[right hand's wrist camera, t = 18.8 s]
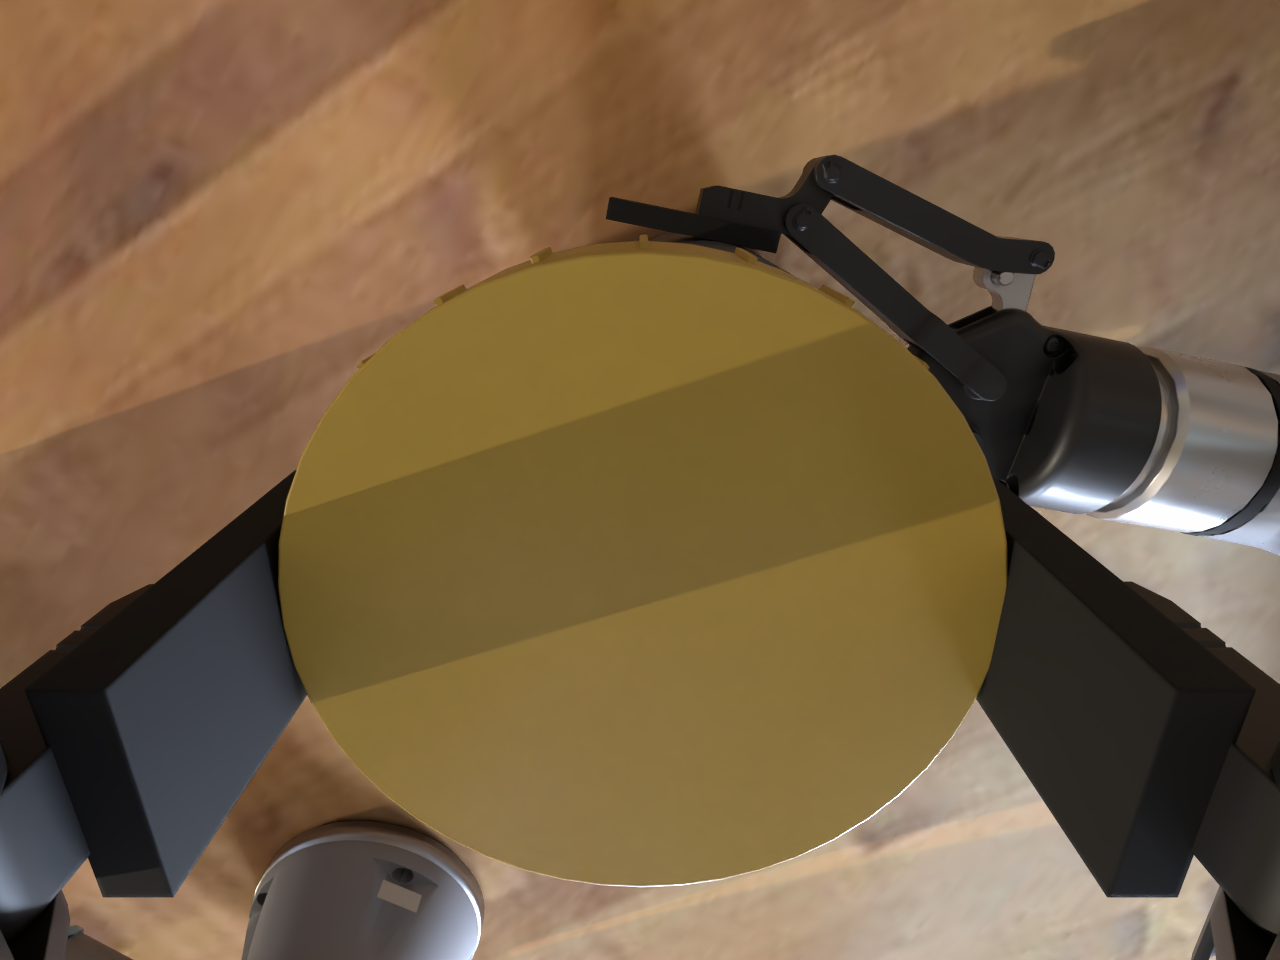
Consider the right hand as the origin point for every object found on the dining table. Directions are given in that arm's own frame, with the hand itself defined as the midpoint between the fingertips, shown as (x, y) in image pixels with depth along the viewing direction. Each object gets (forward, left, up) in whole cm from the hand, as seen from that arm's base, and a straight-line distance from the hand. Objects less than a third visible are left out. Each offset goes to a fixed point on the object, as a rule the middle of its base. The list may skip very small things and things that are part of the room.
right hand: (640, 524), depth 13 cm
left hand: (+1, +2, -18) cm, 18 cm away
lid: (0, 0, +3) cm, 3 cm away
